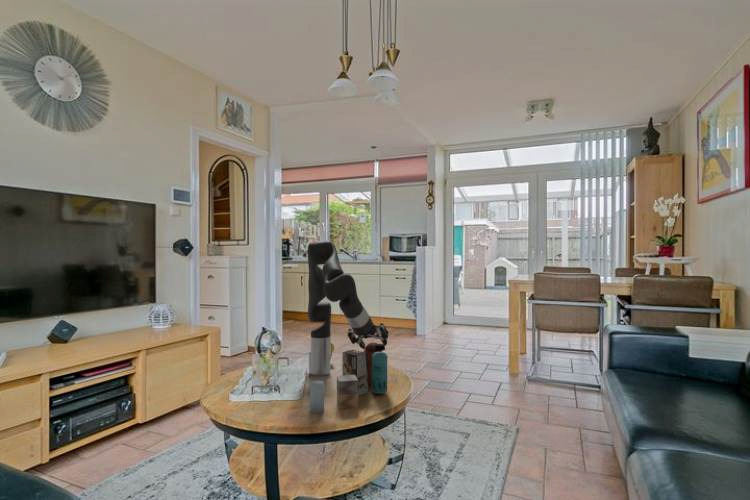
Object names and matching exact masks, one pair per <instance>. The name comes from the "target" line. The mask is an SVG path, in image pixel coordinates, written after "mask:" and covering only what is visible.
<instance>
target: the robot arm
mask: <svg viewBox="0 0 750 500" xmlns="http://www.w3.org/2000/svg"><path fill="white" fill-rule="evenodd" d="M307 264H308V265H307V266H308V281H307V282H308V283H307V284H308V285H307V286H308V287H307V288H308V306H307V318H308V320H309V321H310V322H311V323H323V324H322V325H321V326H319V327H316V328H313V329H311V330H310V351H309V353H308V373H309V374H310V375H312V376H317V377H318V376H326V375H330V374H331V361H330V349H331V343H332V342H331V338H332V337H331V325H332V324H331V322H332V321H331V320H332V306H331V303H330V302H332V303H337V302H339V303H338V307H339V308H340V310H341V312H342V313H343V315H344V317H345V319H346V321H347V323H348V325H349V326H350V328H348V329H347V337H348V339H349V341H350V342H351V344H353V345H355V344H357V345H359V347H360V348H361V349H362V350H364V349H365V347H366V343H365V341H364V340H363V339H369V338H373V339H376V340H380V341H381V344H383V345H384V346H385V347H386V346H387V345H388V338H389V331H388V329H387V328H386V326H385V324H384V323H382V322H381V323H379V325H375V324H374V321H373V320H372V317H370V315H369V313H368V311H367V309H366V308H365V307H364V305H363V303H362V302H361V301H360V299H359V297H358V294H357V293H358V292H357V285H356V280H355V279H354V277H353V276H352V275H351V274H349V273H347V272H346V273H345V272H344V269H342V266H341V263H340V259H339V254H338V251H337V247H336V244H335V243H334V242H333V241H332V240H320V241H313V242H309V244H308V245H307ZM321 265H322V268H321V267H320V266H321ZM325 298H326V299H327V300H328V301H329V302H328V301H323V300H324V299H325ZM322 301H323V302H322ZM356 336H357V337H356Z"/></svg>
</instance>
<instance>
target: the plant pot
mask: <svg viewBox="0 0 750 500" xmlns="http://www.w3.org/2000/svg"><path fill="white" fill-rule="evenodd" d="M334 351H335V343H332V342H331V349H330V362H331V361H332V356H333V353H334Z"/></svg>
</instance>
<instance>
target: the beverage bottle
mask: <svg viewBox="0 0 750 500" xmlns="http://www.w3.org/2000/svg"><path fill="white" fill-rule="evenodd" d="M375 350H377V351H382V352H375V353H374V354H373V355H372V373H371V374H372V376H371V377H372V379H371V386H370V387H371V392H372V393H375V394H384V393H386V392H387V391H388V387H389V386H388V377H389V376H388V371H389V370H388V356H389V355H388V354H387V353H385V352H383V351H385V350H386V346H384V345H383V343H378V344H376V345H375Z"/></svg>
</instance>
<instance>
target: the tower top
mask: <svg viewBox="0 0 750 500" xmlns="http://www.w3.org/2000/svg"><path fill="white" fill-rule="evenodd" d="M337 391H338V394H339V395H349V394H358V379H357V377H356V376H355V375H336V392H337Z"/></svg>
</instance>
